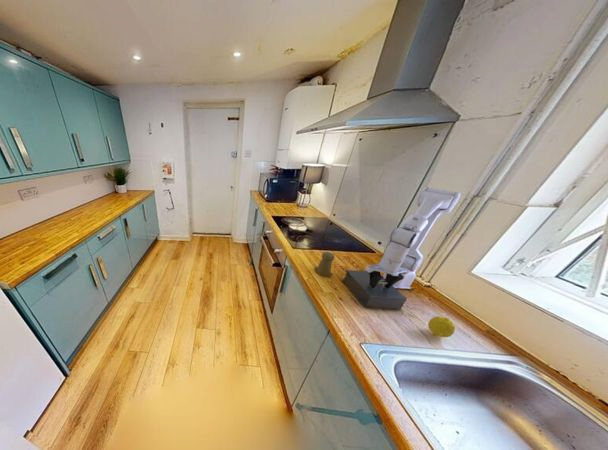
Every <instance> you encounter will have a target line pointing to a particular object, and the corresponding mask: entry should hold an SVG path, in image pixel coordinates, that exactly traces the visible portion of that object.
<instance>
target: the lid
mask: <svg viewBox="0 0 608 450" xmlns="http://www.w3.org/2000/svg"><path fill="white" fill-rule="evenodd" d="M345 272H346V273H348V274H349V275H350V276H351V277H352V278H353V279H354V281H355V282H356V283H357V284H358V285H359V286H360V287H361V288H362V289H363V290H364V291H365V292H366V294H367V295H368V296H369V297H370V298H386V299H401V300H406V301H407V300H408V298H407V297H406V296H405V295H404V294H403V293H401V292H400V291H399V290H398V288H395V287H393V286H391V287H390V288H389V289H387V288H386V285H388V284H389V281H387V280H385V279H384V278H382V279H381V280H380V281H379V282H378V283H377V285H376V287H375V288H372V287H371V286H370V285H369V283H370V275H369V272H368V271H366V270H353V269H346V270H345Z"/></svg>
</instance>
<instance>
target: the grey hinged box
mask: <svg viewBox="0 0 608 450" xmlns="http://www.w3.org/2000/svg"><path fill="white" fill-rule="evenodd" d="M342 282H343V283H344V284H345V286H346V287H347V288H348V289H349V290H350V292H351V293H352V294H353V295H354V296H355V297H356V299H357V300H358V301H359V302H360V304H361V305H362V306H363V307H364V308H366V309H378V310H379V309H380V310H391V311H392V310H395V311H401V309H402V308H403V306H404V305H405V304H406V301H407V300H401V299H386V298H370V297H369V296H368V295H367V294H366V292H365V291H364V290H363V289H362V288H361V287H360V286H359V285H358V284H357V283H356V282H355V281H354V279H353V278H352V277H351V276H350V275H349V274H348V273H347V272H346V273H345V275H344V278H343V281H342Z"/></svg>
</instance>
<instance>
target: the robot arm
mask: <svg viewBox="0 0 608 450" xmlns="http://www.w3.org/2000/svg"><path fill="white" fill-rule="evenodd" d="M461 195H462V194H461V192H460V191H453V190H446V189H439V188H434V187H429V186H425V187H423V188H422V190H421V191H420V192H419V194H418V196H417V198H416V199H417V209H416V211H415V213H414V214H409V215H407V217H406V218H405V219H404V220H403V222H402V223H401V224H400V225H399V226H398V227H395V228H393V229H392V230H391V232H390V234H389V237H388V240H387V243H386V248H385V251H384V253H383V254H382V257H381V259H380V260H379V263H376V264H369V265H366V267H365V269H364V271H368V272H369V275H370V283H369V285H370V286H371V287H372V288H375V287H376V285H377V283H378V282H379V281H380V280H381V279H382V278H384V279H385V280H387V281H389V284H388V285H386V288H387V289H389V288H390V287H391V286H393V287H395V288H396V289H402V290H403V289H404V290H411V289H412V287H411V285H412V283H413V282H414V280H415V278H416V277H417V276H416V275H417V272H416V271H417V269H418V268H419V267H420V265H421V263H422V261H423V259H424V256H423V255H424V254H422V253H421V251H420V250H419V249H420V248H421V247H420V246H421V245H422V244H423V242H424V240H425V238H426V237H427V235H428V233H429V232H430V231H431V229H432V227H433V225H434V224H435V222H436V220H437V219H438V218H439V217H440V216H442V215H445V214H450V213H451V212H452V211H453V209H454V207H455V206H456V205H457V203H458V202H459V199H460V198H461ZM381 273H383V275H382V274H381Z"/></svg>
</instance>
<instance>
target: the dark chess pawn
mask: <svg viewBox="0 0 608 450" xmlns="http://www.w3.org/2000/svg"><path fill="white" fill-rule="evenodd" d="M335 259H336V256H335V254H334V253H333V252H331V251H324V252H323V253H322V254H321V260H320V262H319V264H318V265H317V268H316V269H315V272H316V273H317V274H318V275H320V276H324V277H329V276H330V275H331V269H332V263H333V261H334V260H335Z"/></svg>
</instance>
